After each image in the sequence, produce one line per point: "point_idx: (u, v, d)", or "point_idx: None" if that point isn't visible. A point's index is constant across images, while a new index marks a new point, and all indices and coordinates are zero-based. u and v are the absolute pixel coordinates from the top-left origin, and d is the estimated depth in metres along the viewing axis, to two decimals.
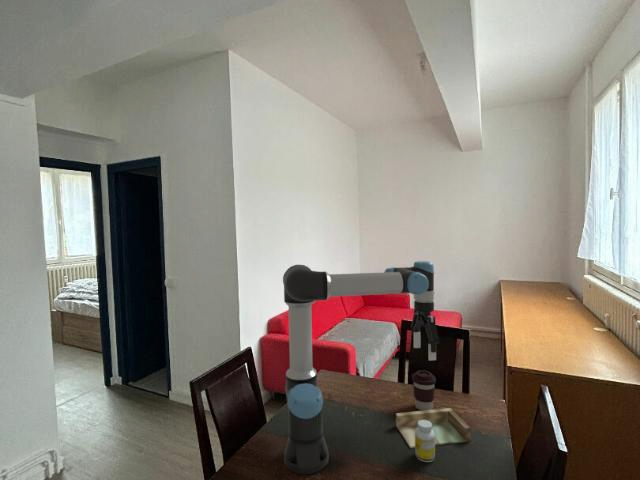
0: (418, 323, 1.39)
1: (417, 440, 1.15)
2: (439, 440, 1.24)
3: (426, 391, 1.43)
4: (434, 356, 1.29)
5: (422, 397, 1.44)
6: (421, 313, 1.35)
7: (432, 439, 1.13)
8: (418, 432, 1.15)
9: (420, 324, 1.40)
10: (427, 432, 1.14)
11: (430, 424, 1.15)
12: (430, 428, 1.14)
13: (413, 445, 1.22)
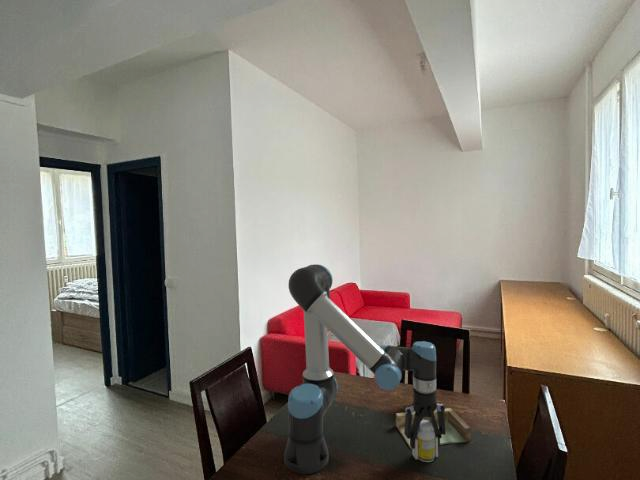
0: (429, 418, 1.17)
1: None
2: None
3: None
4: (414, 453, 1.15)
5: None
6: None
7: (432, 439, 1.13)
8: (418, 432, 1.15)
9: (431, 422, 1.16)
10: (427, 431, 1.14)
11: (430, 424, 1.15)
12: (430, 428, 1.14)
13: None
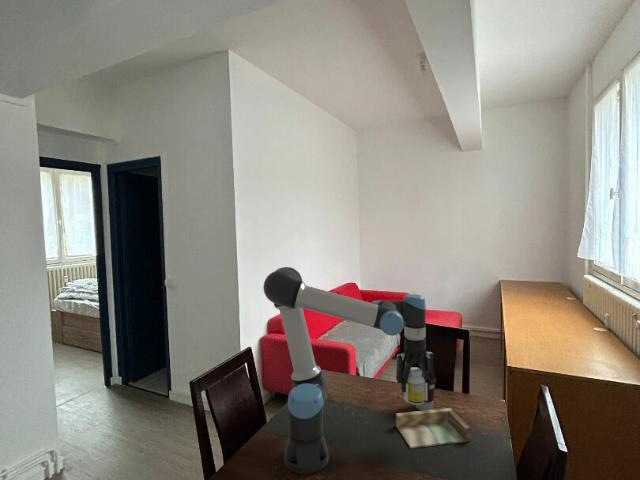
0: (420, 365, 1.26)
1: (408, 385, 1.24)
2: (439, 440, 1.24)
3: None
4: (405, 397, 1.24)
5: None
6: None
7: (421, 383, 1.22)
8: (409, 377, 1.24)
9: (421, 368, 1.25)
10: (417, 376, 1.23)
11: (420, 370, 1.24)
12: (420, 373, 1.23)
13: (413, 445, 1.22)
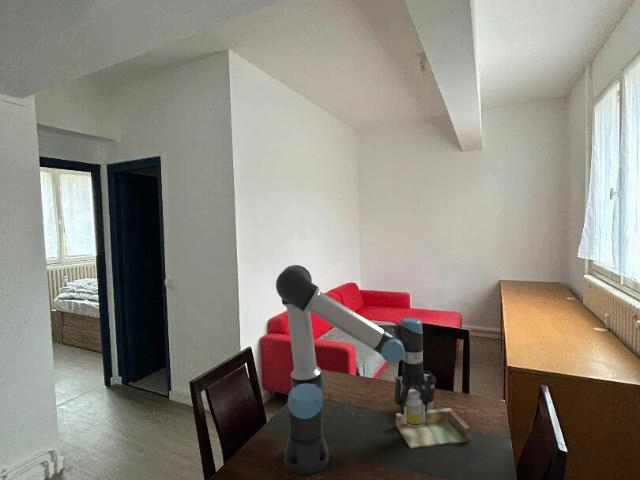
0: (417, 387, 1.29)
1: (406, 407, 1.27)
2: (439, 440, 1.24)
3: None
4: (404, 419, 1.27)
5: None
6: None
7: (419, 405, 1.25)
8: (407, 400, 1.27)
9: (419, 390, 1.28)
10: (414, 399, 1.26)
11: (418, 392, 1.27)
12: (417, 396, 1.26)
13: (413, 445, 1.22)
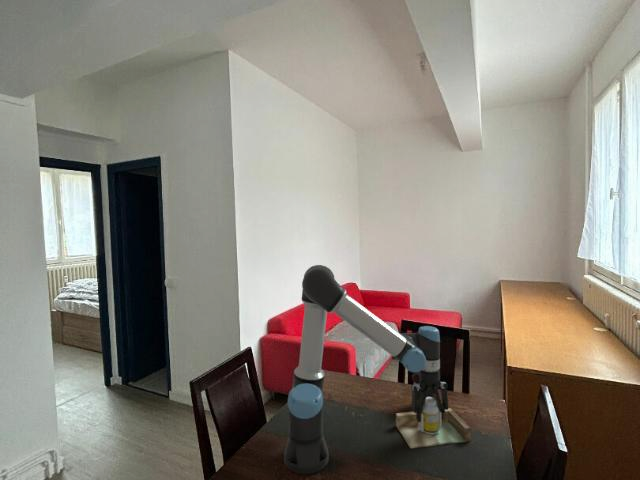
0: (434, 395, 1.30)
1: (423, 414, 1.28)
2: (439, 440, 1.24)
3: None
4: (420, 426, 1.28)
5: None
6: None
7: (436, 413, 1.26)
8: (424, 407, 1.28)
9: (436, 398, 1.29)
10: (431, 407, 1.27)
11: (434, 400, 1.28)
12: (434, 403, 1.27)
13: (413, 445, 1.22)
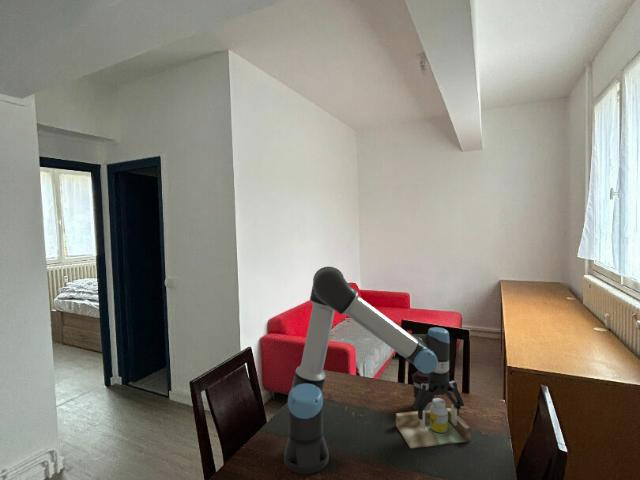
0: (446, 394, 1.31)
1: (432, 416, 1.28)
2: (439, 440, 1.24)
3: (426, 391, 1.43)
4: (422, 424, 1.28)
5: None
6: None
7: (445, 414, 1.27)
8: (433, 409, 1.29)
9: (448, 397, 1.30)
10: (441, 408, 1.27)
11: (444, 401, 1.29)
12: (444, 405, 1.28)
13: (413, 445, 1.22)
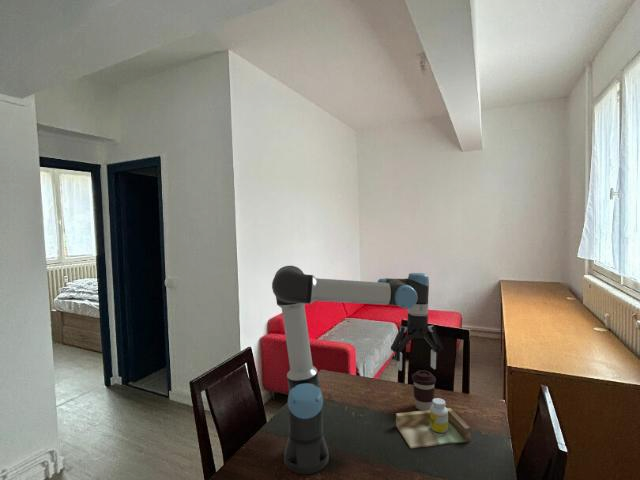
0: (425, 338, 1.32)
1: (432, 416, 1.28)
2: (439, 440, 1.24)
3: (426, 391, 1.43)
4: (399, 366, 1.30)
5: (422, 397, 1.44)
6: None
7: (445, 414, 1.27)
8: (433, 409, 1.29)
9: (427, 341, 1.31)
10: (441, 408, 1.27)
11: (444, 401, 1.29)
12: (444, 405, 1.28)
13: (413, 445, 1.22)
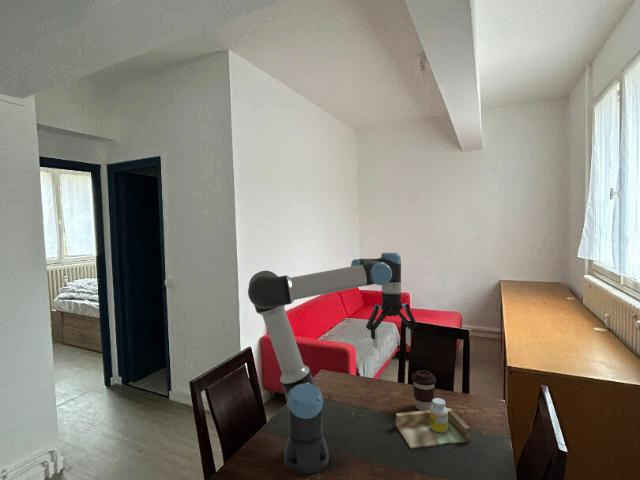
0: (399, 316, 1.35)
1: (432, 416, 1.28)
2: (439, 440, 1.24)
3: (426, 391, 1.43)
4: (374, 343, 1.33)
5: (422, 397, 1.44)
6: None
7: (445, 414, 1.27)
8: (433, 409, 1.29)
9: (402, 318, 1.34)
10: (441, 408, 1.27)
11: (443, 401, 1.29)
12: (444, 405, 1.28)
13: (413, 445, 1.22)
